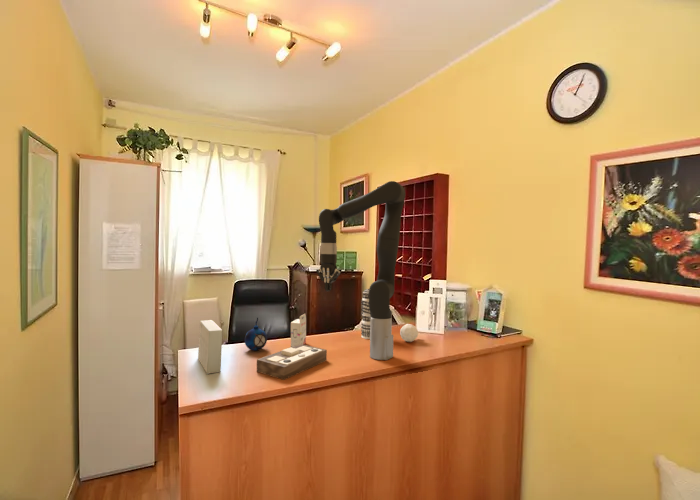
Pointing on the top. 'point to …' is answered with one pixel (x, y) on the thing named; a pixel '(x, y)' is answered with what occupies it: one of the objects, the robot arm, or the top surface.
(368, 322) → the decorative candle
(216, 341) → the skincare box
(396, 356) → the top surface
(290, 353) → the button middle
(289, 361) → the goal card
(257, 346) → the bomb
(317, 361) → the button panel
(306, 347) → the button right
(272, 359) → the button left
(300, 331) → the ink cartridge box
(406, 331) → the white rounded piece
